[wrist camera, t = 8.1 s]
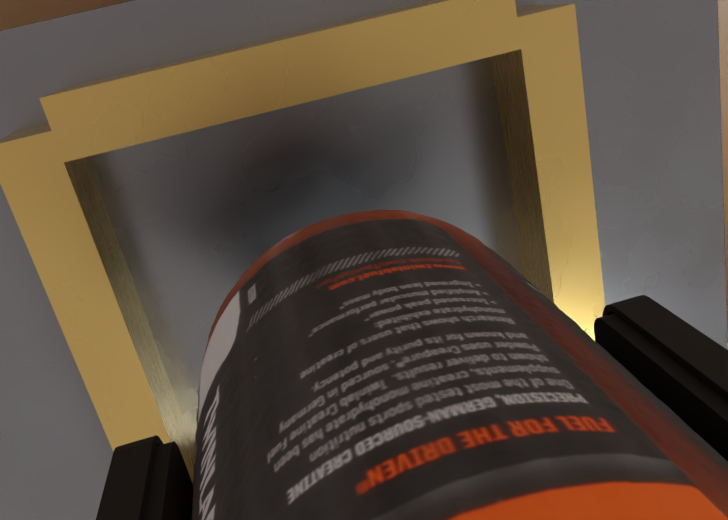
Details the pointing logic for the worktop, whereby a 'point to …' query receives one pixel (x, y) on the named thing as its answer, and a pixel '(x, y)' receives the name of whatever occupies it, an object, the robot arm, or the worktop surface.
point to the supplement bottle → (426, 393)
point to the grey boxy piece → (322, 182)
